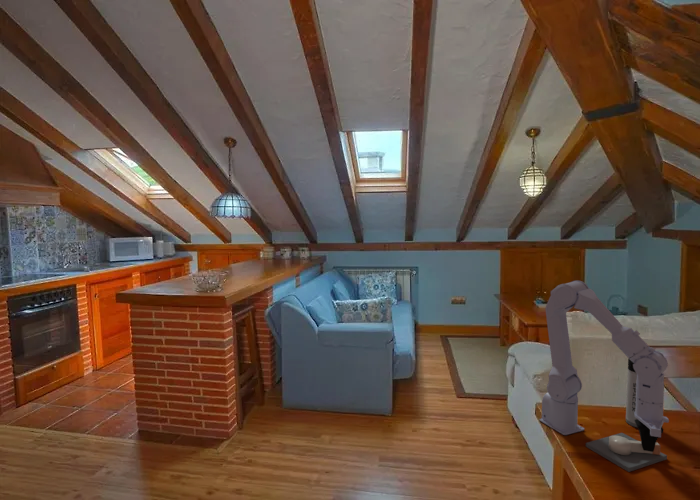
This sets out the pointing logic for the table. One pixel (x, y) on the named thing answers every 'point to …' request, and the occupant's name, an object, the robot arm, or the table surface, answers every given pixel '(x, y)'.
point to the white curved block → (629, 446)
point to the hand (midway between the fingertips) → (647, 450)
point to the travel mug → (631, 394)
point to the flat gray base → (624, 461)
